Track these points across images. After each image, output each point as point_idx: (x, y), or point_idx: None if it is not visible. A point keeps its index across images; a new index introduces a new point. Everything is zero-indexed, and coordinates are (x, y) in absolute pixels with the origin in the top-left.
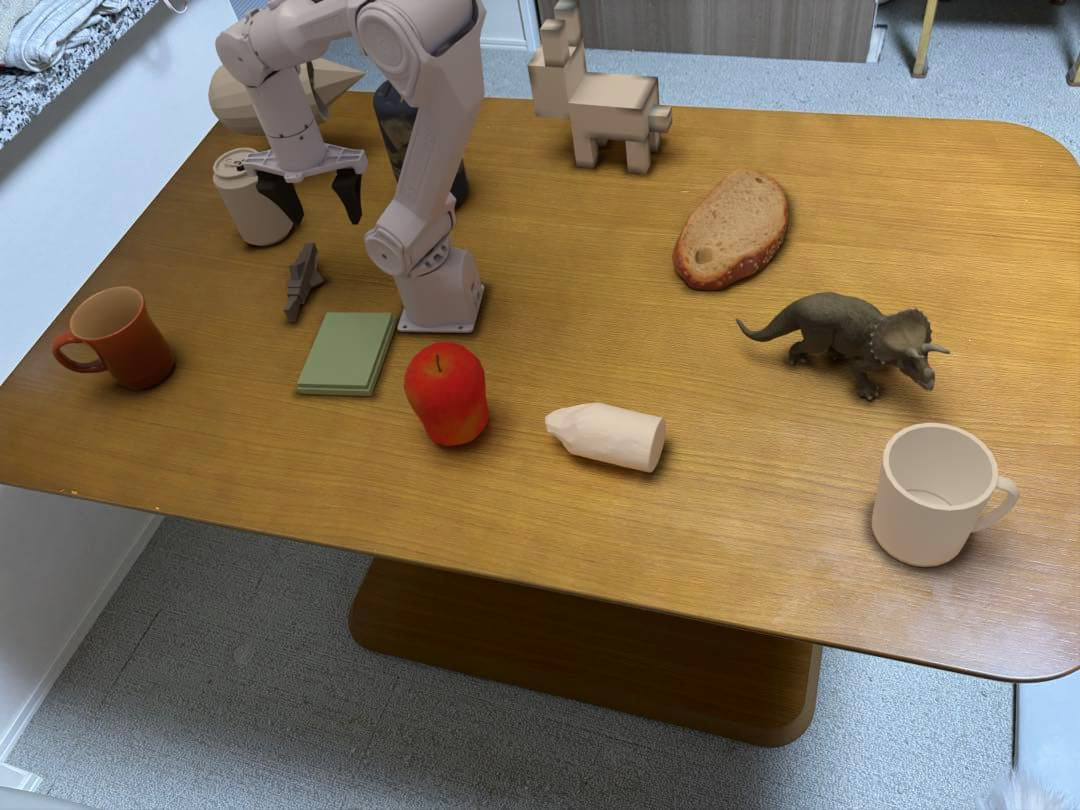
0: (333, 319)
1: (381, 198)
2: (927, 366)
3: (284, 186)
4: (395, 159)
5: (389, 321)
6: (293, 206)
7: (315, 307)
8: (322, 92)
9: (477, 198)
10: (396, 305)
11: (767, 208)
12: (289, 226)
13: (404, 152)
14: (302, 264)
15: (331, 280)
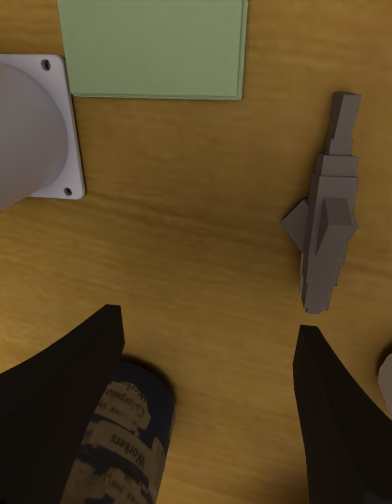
0: (209, 66)
1: (220, 404)
2: None
3: (327, 486)
4: (107, 480)
5: (67, 63)
6: (309, 388)
7: (289, 145)
8: None
9: None
10: (103, 147)
11: None
12: (384, 369)
13: (66, 495)
14: (319, 241)
15: (268, 227)
